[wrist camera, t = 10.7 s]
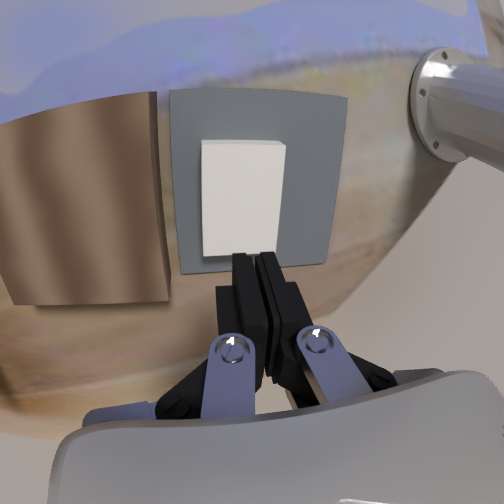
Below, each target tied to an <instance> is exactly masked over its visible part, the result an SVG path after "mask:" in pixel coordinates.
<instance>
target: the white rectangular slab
mask: <svg viewBox="0 0 504 504" xmlns="http://www.w3.org/2000/svg"><path fill="white" fill-rule="evenodd" d="M285 152H286V145H284V144H283V143H281V142H280V141H269V140H201V204H202V243H203V256H221V255H232V253H246V254H260V252H269V251H274V252H275V253H276V245H277V235H278V225H279V216H280V206H281V195H282V185H283V174H284V163H285Z"/></svg>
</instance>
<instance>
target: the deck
mask: <svg viewBox="0 0 504 504" xmlns="http://www.w3.org/2000/svg"><path fill="white" fill-rule="evenodd" d="M0 274H1V276H2V279H3V281H4V283H5V286H6V288H7V290H8V292H9V295H10V297H11V299H12V301H13V303H14V305H83V304H114V303H137V302H156V301H169V293H170V279H171V270H170V263H169V255H168V247H167V239H166V231H165V222H164V212H163V202H162V190H161V178H160V164H159V147H158V125H157V92H141V93H133V94H125V95H119V96H112V97H106V98H100V99H95V100H90V101H84V102H80V103H75V104H70V105H66V106H62V107H58V108H54V109H50V110H46V111H42V112H39V113H35V114H32V115H29V116H25V117H22V118H19V119H16V120H13V121H10V122H7V123H4V124H1V125H0Z"/></svg>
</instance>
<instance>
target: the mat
mask: <svg viewBox="0 0 504 504" xmlns="http://www.w3.org/2000/svg"><path fill="white" fill-rule="evenodd" d="M347 101H348V98H347V97H340V96H333V95H326V94H318V93H309V92H299V91H287V90H273V89H250V88H205V89H183V90H170V134H171V158H172V176H173V191H174V205H175V217H176V228H177V238H178V248H179V257H180V266H181V274H190V273H205V272H219V271H232V255H221V256H203V243H202V204H201V140H269V141H280V142H281V143H283V144H284V145H286V152H285V163H284V174H283V185H282V195H281V206H280V216H279V225H278V235H277V245H276V253H275V255H276V257H277V260H278V263H279V265H280V267H284V266H296V265H308V264H320V263H325V262H326V256H327V251H328V245H329V240H330V234H331V228H332V222H333V216H334V210H335V203H336V196H337V189H338V182H339V175H340V167H341V159H342V151H343V142H344V133H345V123H346V112H347ZM259 255H260V254H247V256H252V259H253V263H254V265H255V256H259Z"/></svg>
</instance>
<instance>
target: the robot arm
mask: <svg viewBox="0 0 504 504" xmlns="http://www.w3.org/2000/svg"><path fill="white" fill-rule="evenodd" d="M410 96H411V111H412V118H413V121H414V125H415V129H416V131H417V133H418V135H419V138H420V139H421V141H422V143H423V144H424V146H425V147H426V148H427V149H428V150H429V151H430V152H431V153H432V154H433V155H435V156H436V157H438V158H440V159H442V160H444V161H447V162H452V163H454V162H461V161H463V160H466V159H467V158H469V157H470V156H471V157H473V158H476V159H478V160H480V161H482V162H484V163H486V164H488V165H490V166H492V167H494V168H497V169H498V170H500V171H502V172H504V69H503V68H497V67H491V66H485V65H477V64H475V63H474V62H473V61H472V59H471V58H470V57H469V56H467V55H466V54H465V53H463V52H462V51H460V50H457V49H455V48H448V47H443V48H436V49H433V50H431V51H429V52H428V53H427V54H425V55H424V56H423V58H422V59H421V60H420V61H419V63H418V65H417V67H416V69H415V72H414V76H413V79H412V84H411V93H410ZM216 305H217V320H218V333H219V337H217V338H215V339H214V341H213V342H212V343H211V346H210V349H209V356H208V359H206V360H205V361H204V362H203V363H202V364H201V365H199V366H198V367H197V368H196V369H195V370H193V371H192V372H191V373H190V374H189V375H188V376H186V377H185V378H184V379H183V380H181V381H180V382H179V383H178V384H177V385H175V386H174V387H173V388H172V389H171V390H169V391H168V392H167V393H166V394H164V395H163V396H162V397H161V398H160V399H159V400H158V401H157V402H153V403H148V402H147V401H143V402H138V403H132V404H126V405H119V406H113V407H105V408H98V409H94V410H91V411H90V412H89V413H87V414H86V415H85V417H84V419H83V424H82V428H81V429H78V430H76V431H74V432H72V433H70V434H69V435H67V436H66V437H65V438H64V439H63V440H62V442H61V443H60V445H59V447H58V449H57V451H56V454H55V457H54V461H53V465H52V469H51V475H50V480H49V489H48V501H47V504H504V397H503V396H502V394H501V393H500V391H499V390H498V388H497V387H496V386H495V384H494V383H493V382H492V381H491V380H490V379H489V378H488V377H487V376H486V375H484V374H482V373H479V372H476V371H466V370H459V371H458V370H457V371H448V372H443V371H442V370H439V369H435V368H429V369H415V370H397V371H394V373H390V372H389V371H387V370H386V369H384V368H381V367H379V366H377V365H375V364H373V363H371V362H368V361H366V360H364V359H362V358H360V357H358V356H355V355H353V354H351V353H349V352H347V351H346V349H345V348H344V346H343V345H342V343H341V342H340V340H339V339H338V338H337V336H336V335H335V333H334V332H333V331H331V330H330V329H328V328H325V327H323V326H317V325H313V323H312V320H311V318H310V315H309V313H308V310H307V308H306V305H305V303H304V300H303V298H302V296H301V293H300V291H299V288H298V286H297V284H296V282H286V281H285V279H284V276H283V273H282V271H281V268H280V265H279V263H278V260H277V257H276V255H275V252H274V251H269V252H260V255H259V256H255V265H254V263H253V259H252V256H247V254H246V253H232V285H230V286H216ZM264 367H265V372H266V376H267V377H269V376H271V377H272V381H273V384H276V383H278V385H280V386H282V387H283V388H285V389H286V390H285V391H286V395H287V398H288V400H289V402H290V404H291V406H292V409H293V410H288V411H281V412H274V413H266V414H257V415H255V393H256V392H257V390H259V388H260V387H261V384H262V377H263V373H264Z"/></svg>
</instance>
